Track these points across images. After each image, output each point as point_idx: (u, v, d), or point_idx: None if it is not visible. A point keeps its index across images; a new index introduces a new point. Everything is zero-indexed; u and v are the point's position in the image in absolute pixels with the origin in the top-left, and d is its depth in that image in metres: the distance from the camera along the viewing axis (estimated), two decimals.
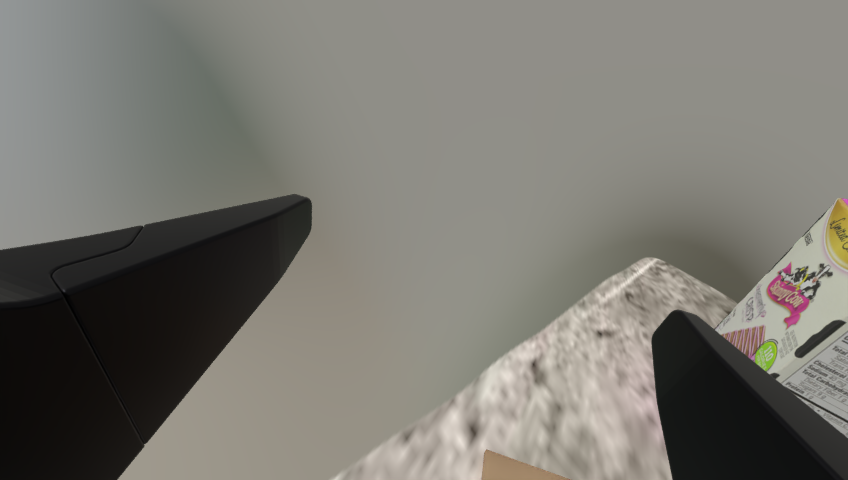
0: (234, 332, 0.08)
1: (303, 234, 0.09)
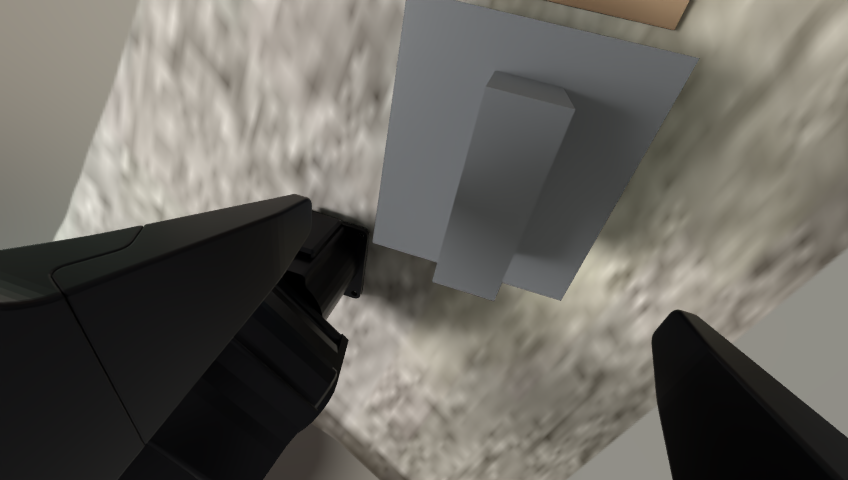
0: (234, 332, 0.08)
1: (303, 234, 0.09)
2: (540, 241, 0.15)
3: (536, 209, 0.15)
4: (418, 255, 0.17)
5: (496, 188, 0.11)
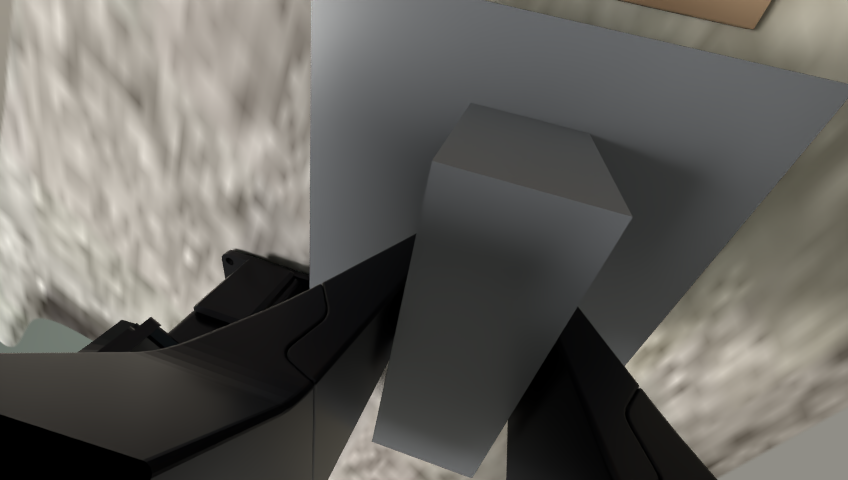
0: (376, 382, 0.07)
1: None
2: None
3: None
4: None
5: (467, 336, 0.06)
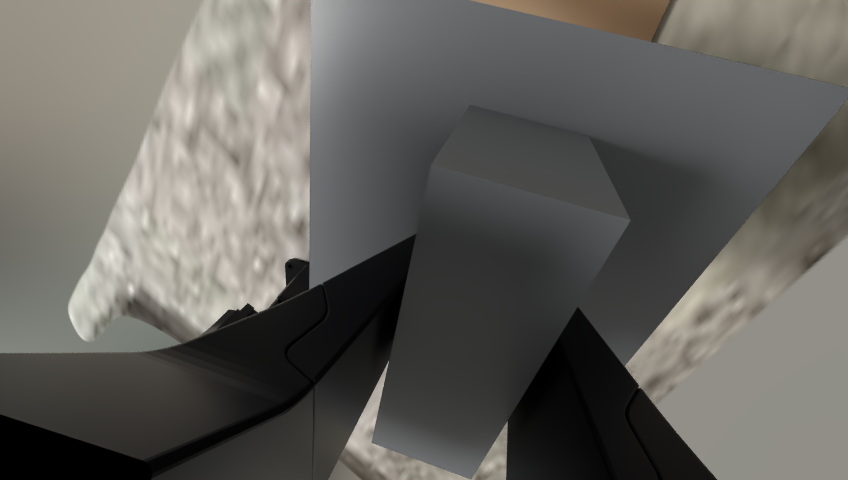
0: (377, 381, 0.07)
1: None
2: None
3: None
4: None
5: (466, 338, 0.06)
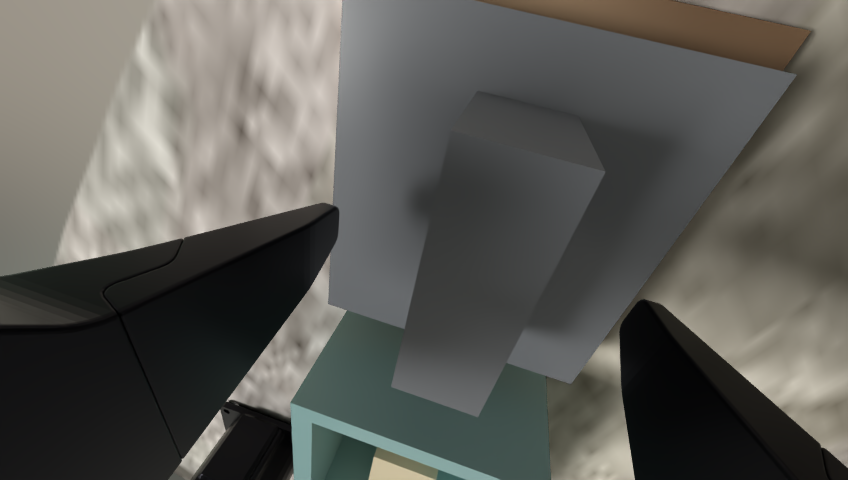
0: (266, 343, 0.07)
1: (331, 243, 0.09)
2: (544, 314, 0.11)
3: None
4: (386, 321, 0.13)
5: (475, 280, 0.07)
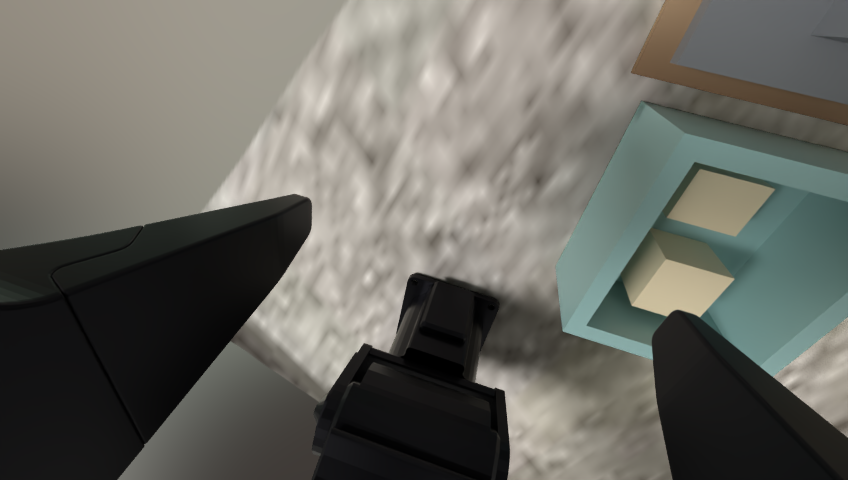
0: (234, 332, 0.08)
1: (303, 234, 0.09)
2: None
3: None
4: (740, 79, 0.13)
5: None
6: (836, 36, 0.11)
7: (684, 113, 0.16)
